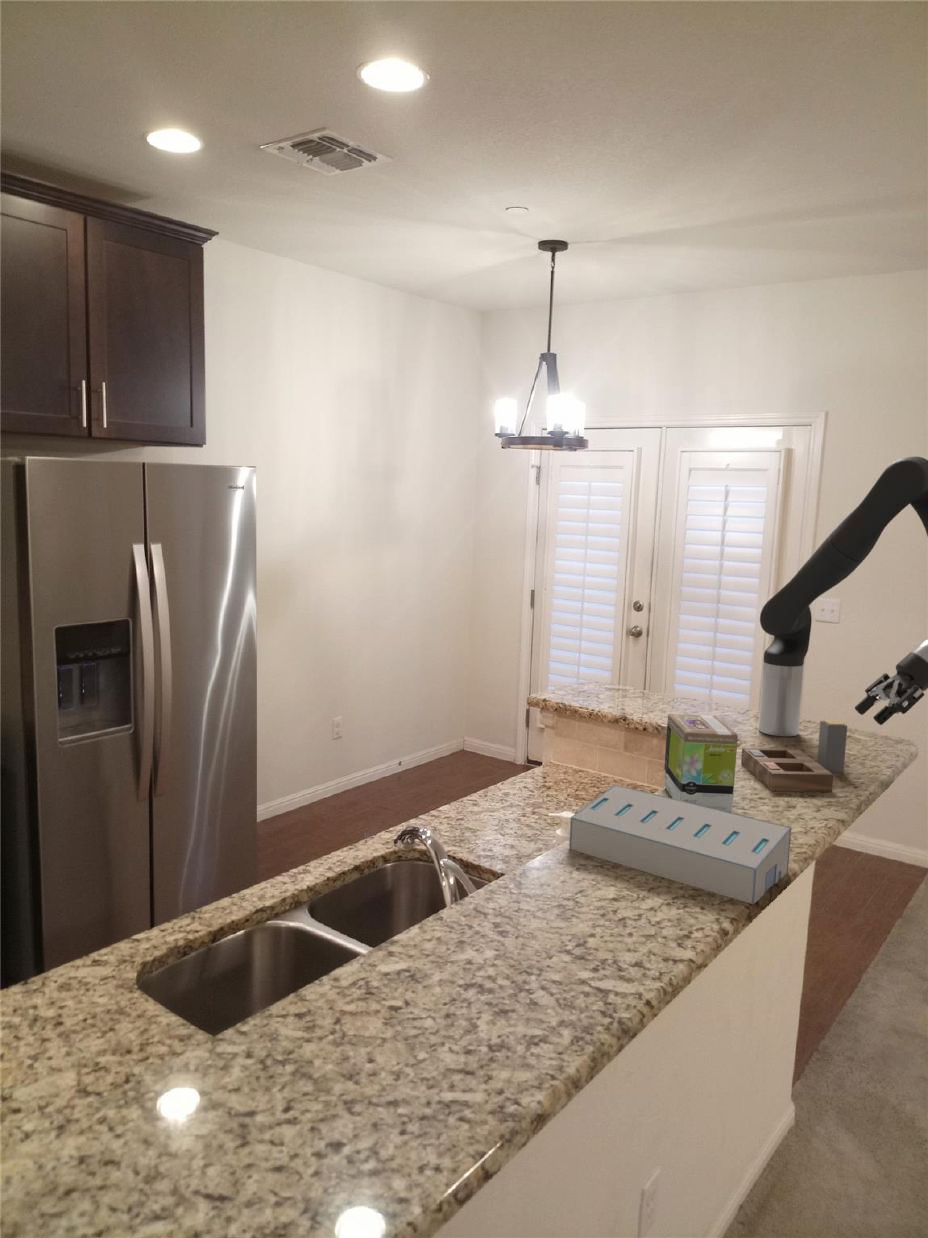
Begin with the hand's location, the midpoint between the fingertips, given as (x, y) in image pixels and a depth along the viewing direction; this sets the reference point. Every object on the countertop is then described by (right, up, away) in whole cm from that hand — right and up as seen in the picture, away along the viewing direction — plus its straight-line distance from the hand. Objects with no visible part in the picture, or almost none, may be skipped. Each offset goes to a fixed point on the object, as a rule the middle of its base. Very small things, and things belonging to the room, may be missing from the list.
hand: (867, 716), depth 188 cm
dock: (-19, -12, -5) cm, 23 cm away
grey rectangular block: (-7, -11, +1) cm, 14 cm away
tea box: (-41, -14, -19) cm, 47 cm away
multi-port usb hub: (-52, -18, -48) cm, 73 cm away
